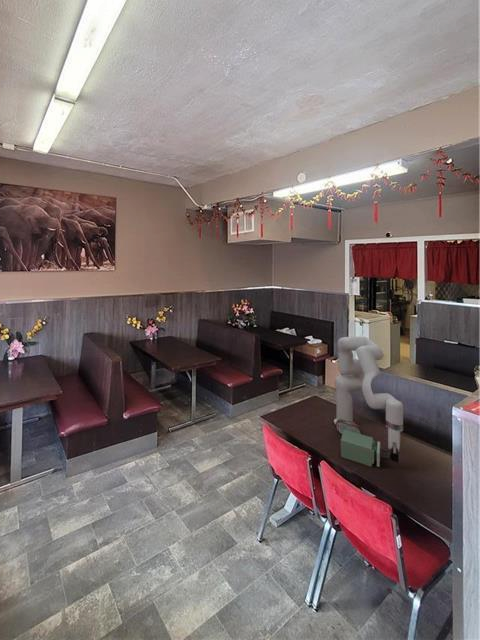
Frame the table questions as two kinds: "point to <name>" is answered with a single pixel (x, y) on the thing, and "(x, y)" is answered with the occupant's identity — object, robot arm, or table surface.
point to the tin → (348, 427)
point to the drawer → (379, 454)
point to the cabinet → (357, 447)
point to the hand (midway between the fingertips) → (394, 460)
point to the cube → (374, 451)
